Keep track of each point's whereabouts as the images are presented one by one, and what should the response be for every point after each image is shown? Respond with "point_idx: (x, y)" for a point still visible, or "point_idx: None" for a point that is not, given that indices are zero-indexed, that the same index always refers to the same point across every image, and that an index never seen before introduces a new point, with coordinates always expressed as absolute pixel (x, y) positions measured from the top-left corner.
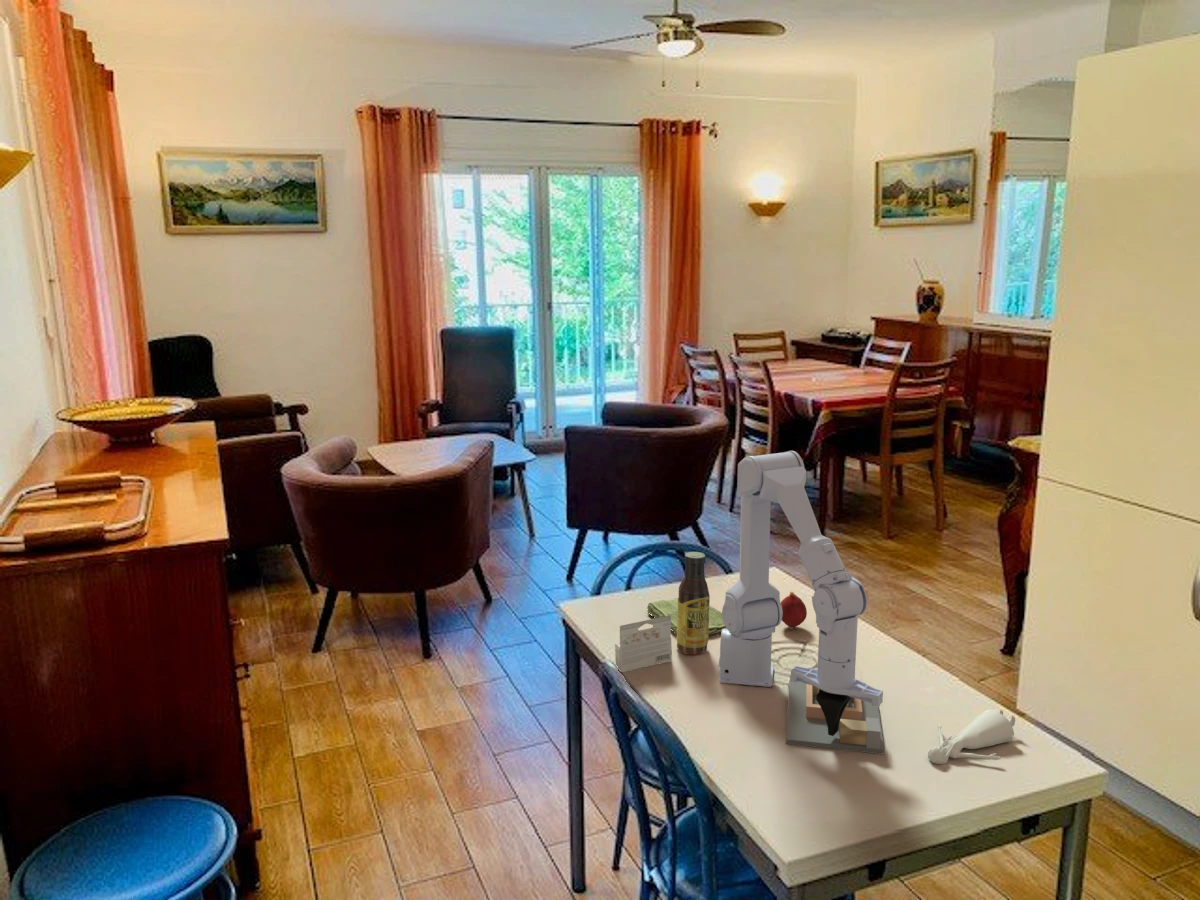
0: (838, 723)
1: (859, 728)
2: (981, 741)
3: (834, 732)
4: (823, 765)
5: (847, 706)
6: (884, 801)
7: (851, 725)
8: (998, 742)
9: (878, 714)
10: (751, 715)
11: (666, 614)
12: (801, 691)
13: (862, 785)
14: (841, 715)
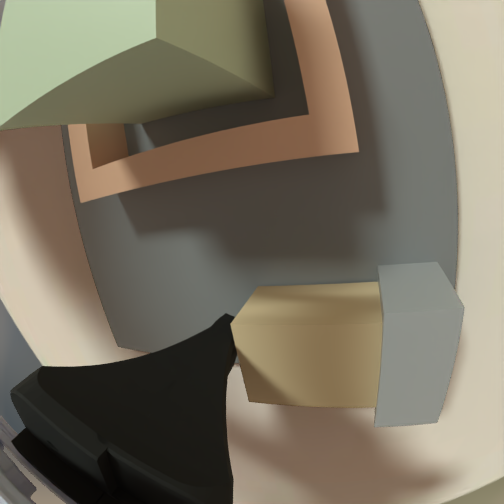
0: (233, 346)
1: (339, 395)
2: None
3: (233, 358)
4: (242, 422)
5: (255, 87)
6: (383, 493)
7: (298, 378)
8: None
9: (428, 42)
10: (30, 212)
11: None
12: None
13: (344, 470)
14: (227, 369)
